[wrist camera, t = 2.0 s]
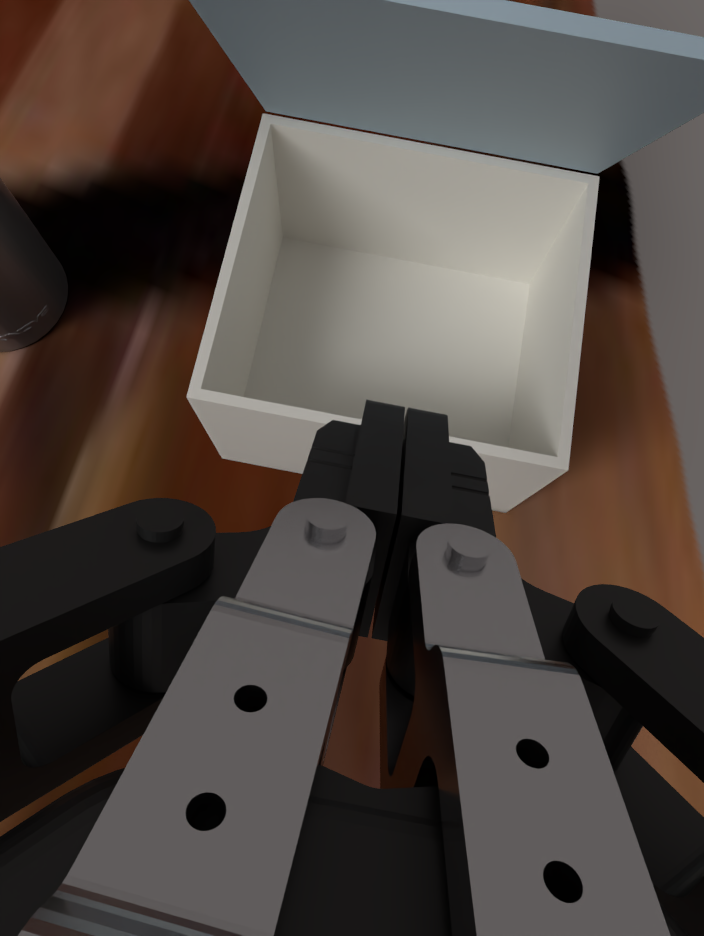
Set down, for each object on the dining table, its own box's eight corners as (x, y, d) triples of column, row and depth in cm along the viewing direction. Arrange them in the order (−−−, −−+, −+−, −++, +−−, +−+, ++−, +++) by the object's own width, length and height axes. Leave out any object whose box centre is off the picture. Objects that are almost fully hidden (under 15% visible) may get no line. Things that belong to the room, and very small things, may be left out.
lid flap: (773, 72, 20) (780, 51, 20) (160, -42, 21) (162, -64, 20) (597, 173, 38) (600, 162, 38) (265, 111, 38) (267, 100, 38)
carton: (505, 512, 45) (568, 470, 33) (222, 458, 45) (186, 397, 34) (535, 283, 50) (599, 176, 38) (277, 235, 50) (262, 113, 38)
